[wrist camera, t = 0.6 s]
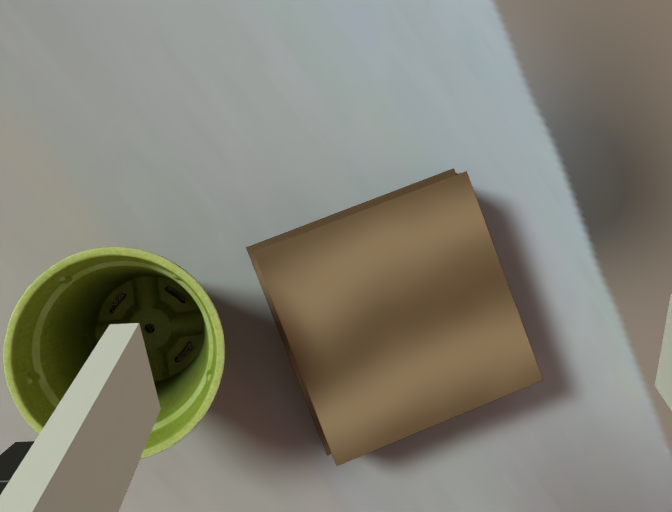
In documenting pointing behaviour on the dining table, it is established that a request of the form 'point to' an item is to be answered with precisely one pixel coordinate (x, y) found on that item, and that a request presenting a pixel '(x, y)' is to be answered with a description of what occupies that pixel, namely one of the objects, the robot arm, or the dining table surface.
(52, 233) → the dining table surface
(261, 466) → the dining table surface
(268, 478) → the dining table surface
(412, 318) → the walnut plinth
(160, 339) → the plant pot
